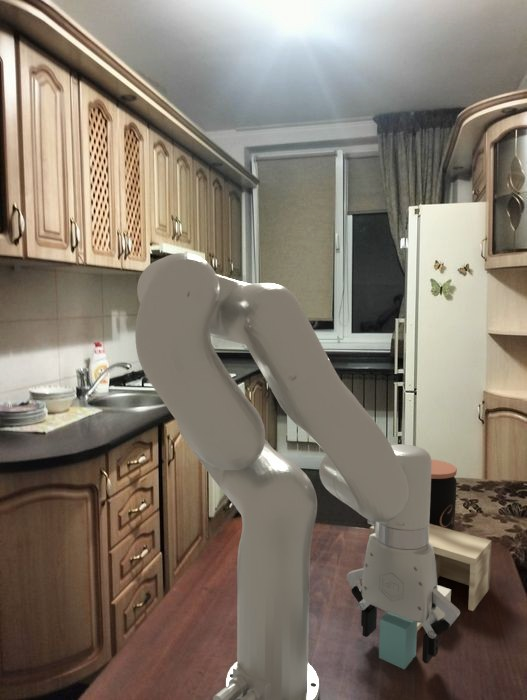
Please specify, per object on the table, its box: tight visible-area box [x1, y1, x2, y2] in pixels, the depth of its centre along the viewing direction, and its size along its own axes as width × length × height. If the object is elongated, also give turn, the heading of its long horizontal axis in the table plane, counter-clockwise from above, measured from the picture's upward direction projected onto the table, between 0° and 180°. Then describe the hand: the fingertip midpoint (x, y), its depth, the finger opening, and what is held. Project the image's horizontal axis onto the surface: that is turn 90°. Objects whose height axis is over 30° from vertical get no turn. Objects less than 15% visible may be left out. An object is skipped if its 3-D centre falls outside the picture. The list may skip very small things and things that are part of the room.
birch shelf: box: [369, 524, 492, 612], centre depth 101 cm, size 9×20×9 cm, turn 51°
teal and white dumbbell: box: [378, 584, 452, 670], centre depth 85 cm, size 16×5×6 cm, turn 141°
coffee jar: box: [429, 458, 458, 531], centre depth 114 cm, size 11×11×18 cm
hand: (398, 644), depth 80 cm, fingers open, 9 cm apart
